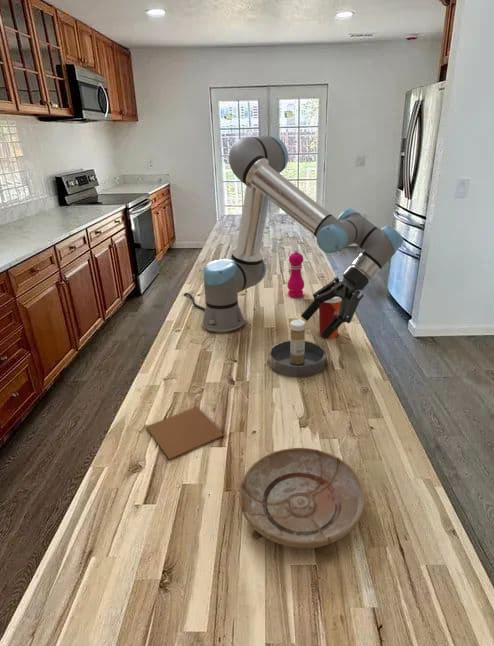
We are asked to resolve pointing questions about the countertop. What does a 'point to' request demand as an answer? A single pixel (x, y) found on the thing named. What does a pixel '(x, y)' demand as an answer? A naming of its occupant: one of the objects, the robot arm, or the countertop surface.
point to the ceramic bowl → (302, 497)
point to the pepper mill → (295, 275)
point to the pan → (282, 364)
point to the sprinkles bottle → (297, 341)
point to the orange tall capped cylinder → (328, 314)
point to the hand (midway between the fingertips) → (313, 327)
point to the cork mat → (184, 432)
